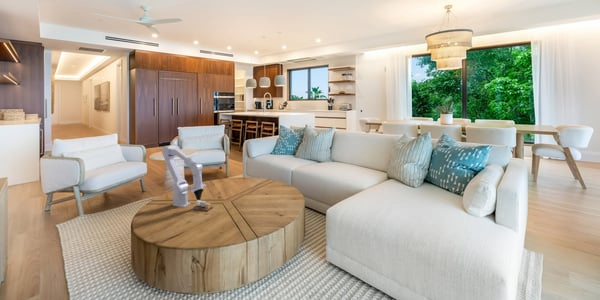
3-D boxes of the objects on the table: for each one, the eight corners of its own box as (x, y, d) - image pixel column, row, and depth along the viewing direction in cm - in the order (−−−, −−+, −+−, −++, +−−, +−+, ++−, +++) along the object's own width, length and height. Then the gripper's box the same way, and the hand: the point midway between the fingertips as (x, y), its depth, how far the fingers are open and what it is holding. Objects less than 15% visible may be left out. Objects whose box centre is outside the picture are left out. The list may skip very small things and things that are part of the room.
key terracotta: (204, 208, 205) (204, 204, 204) (207, 206, 208) (207, 202, 207) (208, 208, 204) (208, 204, 204) (210, 207, 207) (210, 203, 206)
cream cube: (195, 205, 207) (195, 201, 206) (198, 204, 210) (198, 200, 209) (199, 206, 206) (199, 201, 206) (201, 204, 209) (201, 200, 208)
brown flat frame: (193, 209, 206) (193, 207, 206) (199, 205, 212) (199, 204, 212) (207, 211, 202) (207, 209, 202) (213, 207, 209) (213, 206, 208)
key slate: (200, 206, 206) (200, 202, 205) (202, 204, 209) (202, 200, 208) (203, 206, 205) (203, 202, 205) (206, 205, 208) (206, 201, 207)
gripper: (195, 184, 197) (196, 203, 199) (208, 178, 210) (209, 196, 213) (186, 183, 199) (188, 202, 201) (200, 177, 212) (201, 195, 215)
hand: (198, 199), depth 207 cm, fingers closed
